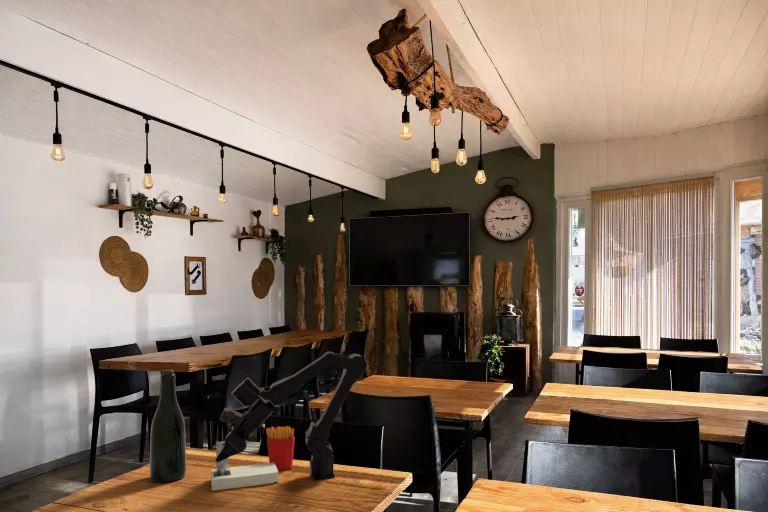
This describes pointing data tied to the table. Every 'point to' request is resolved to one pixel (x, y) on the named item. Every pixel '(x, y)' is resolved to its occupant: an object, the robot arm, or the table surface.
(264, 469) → the socket board
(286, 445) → the french fries
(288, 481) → the table surface
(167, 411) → the beer bottle
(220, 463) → the peg
